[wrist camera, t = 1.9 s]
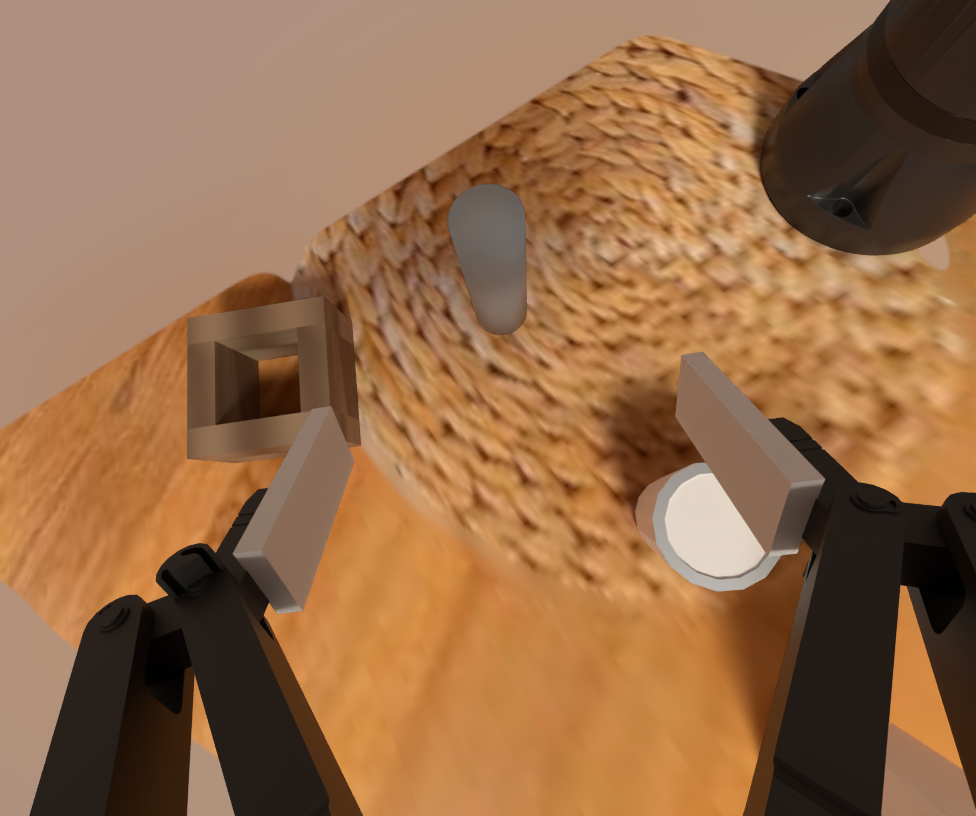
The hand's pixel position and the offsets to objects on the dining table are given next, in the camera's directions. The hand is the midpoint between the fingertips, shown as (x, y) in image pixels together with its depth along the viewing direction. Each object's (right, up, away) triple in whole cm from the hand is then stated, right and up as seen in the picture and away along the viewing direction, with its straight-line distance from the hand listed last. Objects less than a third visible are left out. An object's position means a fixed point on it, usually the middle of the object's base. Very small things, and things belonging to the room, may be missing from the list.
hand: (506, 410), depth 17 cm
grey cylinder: (0, +8, +18) cm, 19 cm away
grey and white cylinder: (+12, -7, +14) cm, 20 cm away
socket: (-16, +1, +18) cm, 24 cm away
